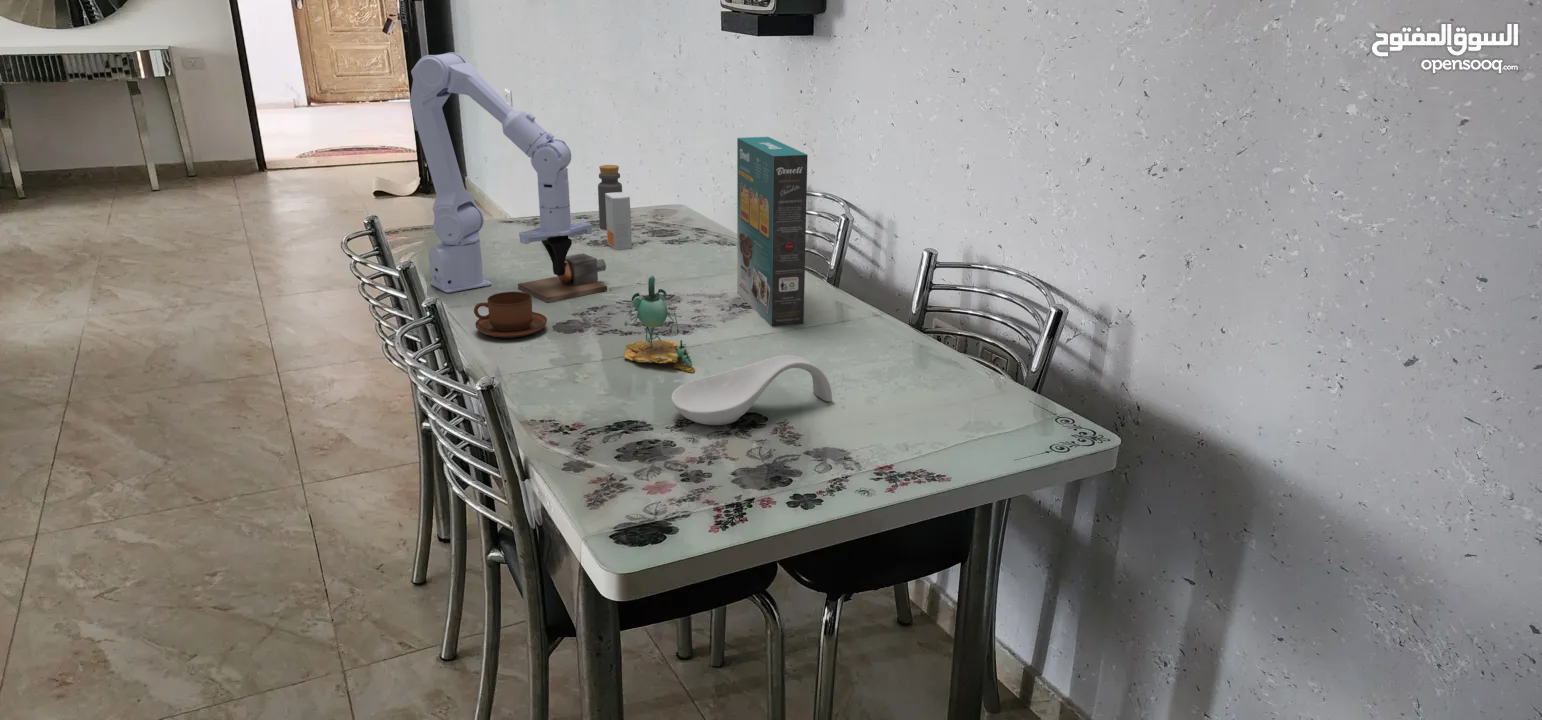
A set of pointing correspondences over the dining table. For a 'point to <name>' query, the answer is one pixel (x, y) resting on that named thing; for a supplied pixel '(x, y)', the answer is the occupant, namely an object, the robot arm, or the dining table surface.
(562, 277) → the shaft
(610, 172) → the bottle
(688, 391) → the spoon rest
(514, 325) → the cup and saucer
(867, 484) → the dining table surface
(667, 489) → the dining table surface
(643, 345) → the teal creature figurine
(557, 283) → the stand
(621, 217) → the skincare box
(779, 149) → the cake mix box
